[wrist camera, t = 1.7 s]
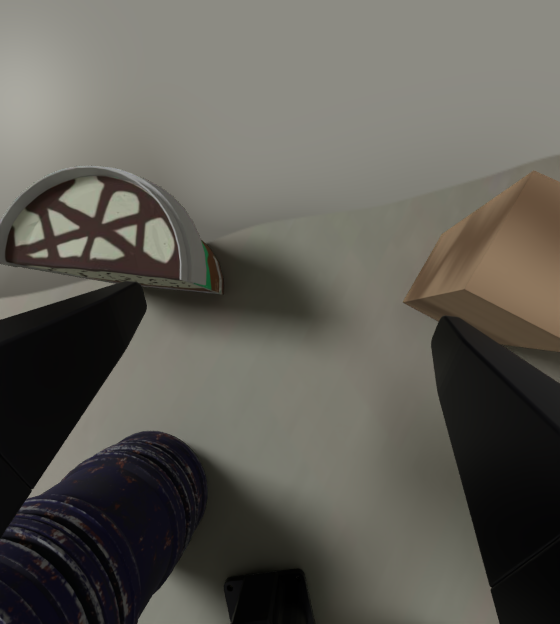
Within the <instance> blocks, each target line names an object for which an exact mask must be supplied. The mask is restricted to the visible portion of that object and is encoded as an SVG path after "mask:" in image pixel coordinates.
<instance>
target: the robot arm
mask: <svg viewBox="0 0 560 624" xmlns="http://www.w3.org/2000/svg"><path fill="white" fill-rule="evenodd" d="M146 309H147V304H146V300H145V296H144V292H143V289H142V286H141V284H140V283H139V282H134V281H124V282H120V283H117V284H114V285H111V286H107V287H104V288H101V289H98V290H95V291H91V292H88V293H85V294H82V295H79V296H75V297H72V298H69V299H66V300H62V301H59V302H56V303H53V304H50V305H46V306H43V307H40V308H37V309H34V310H30V311H27V312H24V313H21V314H18V315H14V316H11V317H8V318H5V319H1V320H0V538H1V537H2V535H3V534H4V532H5V531H6V529H7V528H8V526H9V525H10V523H11V522H12V520H13V519H14V517H15V516H16V514H17V513H18V511H19V510H20V508H21V507H22V505H23V504H24V502H25V501H26V499H27V498H28V496H29V495H30V493H31V492H32V490H31V489H33V488H34V487H35V485H36V484H37V482H38V481H39V479H40V478H41V476H42V475H43V473H44V472H45V470H46V469H47V467H48V466H49V464H50V463H51V461H52V460H53V458H54V457H55V455H56V454H57V452H58V451H59V449H60V448H61V446H62V445H63V443H64V442H65V440H66V439H67V437H68V436H69V434H70V433H71V431H72V430H73V428H74V427H75V425H76V424H77V422H78V421H79V419H80V418H81V416H82V415H83V413H84V412H85V410H86V409H87V407H88V406H89V404H90V403H91V401H92V400H93V398H94V397H95V395H96V394H97V392H98V391H99V389H100V388H101V386H102V385H103V383H104V382H105V380H106V379H107V377H108V376H109V374H110V373H111V371H112V370H113V368H114V367H115V366H116V364H117V363H118V361H119V360H120V358H121V357H122V355H123V353H124V352H125V350H126V349H127V347H128V345H129V343H130V341H131V339H132V337H133V336H134V334H135V332H136V330H137V328H138V326H139V324H140V322H141V320H142V318H143V316H144V314H145V312H146ZM431 349H432V356H433V363H434V371H435V378H436V386H437V392H438V396H439V400H440V404H441V408H442V411H443V415H444V419H445V423H446V426H447V430H448V434H449V437H450V441H451V445H452V448H453V452H454V456H455V460H456V463H457V467H458V471H459V474H460V478H461V482H462V485H463V489H464V493H465V496H466V500H467V504H468V508H469V511H470V515H471V519H472V522H473V526H474V530H475V533H476V537H477V541H478V545H479V548H480V552H481V556H482V559H483V563H484V567H485V570H486V574H487V578H488V582H489V585H490V587H491V594H492V597H493V601H494V605H495V608H496V612H497V616H498V620H499V623H500V624H560V383H558V382H557V381H555V380H553V379H552V378H550V377H549V376H547V375H546V374H544V373H543V372H541V371H540V370H538V369H537V368H535V367H534V366H532V365H531V364H529V363H528V362H526V361H525V360H523V359H522V358H520V357H519V356H517V355H516V354H514V353H513V352H511V351H510V350H508V349H507V348H505V347H504V346H502V345H500V344H499V343H497V342H496V341H494V340H493V339H491V338H490V337H488V336H487V335H485V334H484V333H482V332H481V331H479V330H478V329H476V328H475V327H473V326H472V325H470V324H469V323H467V322H466V321H464V320H463V319H461V318H459V317H456V316H447V315H444V316H442V317H441V318H440V320H439V322H438V325H437V327H436V330H435V332H434V335H433V337H432V341H431ZM297 576H299V577H300V579H297V578H296V577H297ZM229 585H232V586H233V587H230V586H229ZM224 592H225V597H226V602H227V607H228V612H229V617H230V622H231V624H315V620H314V616H313V611H312V606H311V602H310V597H309V592H308V588H307V583H306V578H305V574H304V572H303V571H302V570H300V569H292V570H284V571H276V572H267V573H259V574H251V575H245V576H237V577H230V578H228V579H227V580H226V582H225V585H224Z"/></svg>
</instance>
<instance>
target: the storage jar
mask: <svg viewBox="0 0 560 624" xmlns="http://www.w3.org/2000/svg"><path fill="white" fill-rule="evenodd" d="M207 494H208V488H207V480H206V476H205V472H204V470H203V467H202V465H201V463H200V461H199V459H198V458H197V456H196V455H195V453H194V452H193V451H192V450H191V449H190V448H189V447H188V446H187V445H186V444H185V443H184V442H183V441H181V440H179V439H178V438H176V437H174V436H172V435H170V434H167V433H163V432H159V431H143V432H139V433H135V434H133V435H131V436H128V437H126V438H125V439H123V440H122V441H120V442H119V443H117V444H115V445H112V446H110V447H108V448H106V449H104V450H102V451H100V452H99V453H97V454H96V455H94V456H93V457H91V458H89V459H87V460H85V461H83V462H82V463H80V464H79V465H78V466H77V467H76V468H75V469H73V470H72V471H70V472H69V473H68V474H67V475H66V476H65V477H64V478H63V479H62V480H61V482H60V483H58V484H57V485H55V486H54V487H52V488H50V489H49V490H47V491H46V492H44V493H43V494H41V495H39V496H36V497H32V498H28V499H26V501H25V502H24V504H23V505H22V507H21V508H20V510H19V511H18V513H17V514H16V516H15V517H14V519H13V520H12V522H11V523H10V525H9V526H8V528H7V529H6V531H5V532H4V534H3V535H2V537H1V538H0V624H137V623H138V618H139V617H140V615H141V613H142V612H143V610H144V608H145V607H146V605H147V603H148V602H149V600H150V598H151V597H152V595H153V594H154V593H155V592H156V591H157V590H158V589H160V587H161V586H162V585H163V584H164V582H165V581H166V580H167V578H168V577H169V575H170V574H171V573H172V571H173V569H174V567H175V565H176V564H177V562H178V561H179V560H180V558H181V556H182V555H183V553H184V551H185V549H186V548H187V546H188V544H189V542H190V540H191V537H192V534H193V532H194V530H195V529H196V527H197V526H198V524H199V522H200V520H201V518H202V517H203V514H204V511H205V508H206V503H207Z"/></svg>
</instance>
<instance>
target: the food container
mask: <svg viewBox="0 0 560 624" xmlns="http://www.w3.org/2000/svg"><path fill="white" fill-rule="evenodd" d="M0 264H3V265H8V266H13V267H23V268H28V269H35V270H40V271H46V272H52V273H58V274H63V275H69V276H75V277H80V278H86V279H92V280H98V281H104V282H109V283H115V284H117V283H120V282H124V281H134V282H139V283H140V284H141V286H142V287H152V288H162V289H172V290H182V291H192V292H202V293H212V294H222V295H224V279H223V275H222V272H221V268H220V264H219V262H218V260H217V259H216V257H215V255H214V254H213V252H212V251H211V249H210V248H209V247H208V246H207V245H206V244H205V243H204V242H203V241H202V240H201V238H200V235H199V233H198V231H197V229H196V227H195V224H194V222H193V220H192V219H191V218H190V216H189V214H188V213H187V211H186V210H185V208H184V207H183V206H182V205H181V204H180V203H179V202H178V201H177V200H176V199H175V198H174V196H172V195H171V194H169V193H168V192H167V191H166V190H164V189H163V188H162V187H160V186H158V185H156V184H154V183H153V182H151V181H149V180H147V179H144V178H142V177H139V176H137V175H135V174H132V173H129V172H126V171H123V170H120V169H116V168H109V167H98V166H75V167H71V168H66V169H61V170H59V171H56V172H54V173H51V174H48V175H46V176H45V177H43V178H41V179H39V180H38V181H36V182H34V183H33V184H32V185H31V186H29V187H28V188H27V189H25V190H24V191H23V192H22V193H21V194H20V195H19V196H18V197H17V198H16V199H15V201H13V203H12V204H11V205H10V207H9V208H8V209H7V211H6V212H5V214H4V215H3V217H2V218H1V220H0Z"/></svg>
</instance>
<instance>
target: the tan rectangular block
mask: <svg viewBox="0 0 560 624" xmlns="http://www.w3.org/2000/svg"><path fill="white" fill-rule="evenodd" d="M403 303H405V304H407V305H409V306H411V307H412V308H414V309H416V310H418V311H420V312H422V313H424V314H426V315H427V316H429V317H431V318H433V319H435V320H437V321H439V320H440V318H441V317H442V316H444V315H447V316H456V317H459V318H461V319H463V320H464V321H466V322H467V323H469V324H470V325H472V326H473V327H475V328H476V329H478V330H479V331H481V332H482V333H484V334H485V335H487V336H488V337H490V338H491V339H493V340H494V341H496V342H497V343H499V344H502V345H510V346H517V347H525V348H533V349H540V350H548V351H556V352H560V182H558V181H556V180H554V179H552V178H549V177H547V176H545V175H543V174H540V173H538V172H536V171H532V172H531V173H529V174H528V175H527V176H525V177H524V178H522V179H521V180H519V181H518V182H516V183H515V184H514V185H512V186H511V187H509V188H508V189H506V190H505V191H504V192H502V193H501V194H499V195H498V196H496V197H495V198H493V199H492V200H491V201H489V202H488V203H486V204H485V205H483V206H482V207H480V208H479V209H478V210H476V211H475V212H473V213H472V214H470V215H469V216H467V217H466V218H465V219H463V220H462V221H460V222H459V223H457V224H456V225H454V226H453V227H452V228H450V229H449V230H447V231H446V232H444V233H443V234H442V235H441V237H440V238H439V240H438V242H437V244H436V245H435V247H434V249H433V251H432V252H431V254H430V256H429V258H428V259H427V261H426V263H425V264H424V266H423V268H422V270H421V271H420V273H419V275H418V277H417V278H416V280H415V282H414V284H413V285H412V287H411V289H410V290H409V292H408V294H407V296H406V297H405V299H404V301H403Z"/></svg>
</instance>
